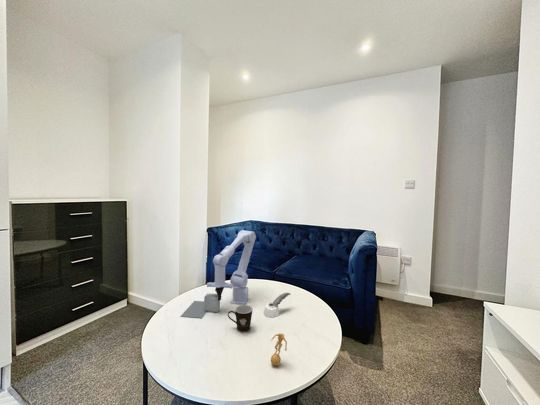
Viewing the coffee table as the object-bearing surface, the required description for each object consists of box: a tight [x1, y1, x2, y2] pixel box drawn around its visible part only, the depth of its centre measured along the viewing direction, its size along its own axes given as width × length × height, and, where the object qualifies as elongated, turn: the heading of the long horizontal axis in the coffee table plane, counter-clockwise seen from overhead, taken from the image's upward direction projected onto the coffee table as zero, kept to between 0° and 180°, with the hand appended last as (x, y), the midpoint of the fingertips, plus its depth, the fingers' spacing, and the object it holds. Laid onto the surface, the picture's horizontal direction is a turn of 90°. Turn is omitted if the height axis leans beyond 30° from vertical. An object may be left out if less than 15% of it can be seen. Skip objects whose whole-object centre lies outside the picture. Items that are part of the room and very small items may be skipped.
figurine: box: [270, 332, 288, 367], centre depth 95 cm, size 8×6×12 cm
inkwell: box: [263, 292, 291, 318], centre depth 136 cm, size 9×18×10 cm, turn 124°
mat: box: [180, 300, 208, 319], centre depth 136 cm, size 12×18×1 cm, turn 174°
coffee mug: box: [227, 304, 253, 333], centre depth 119 cm, size 12×9×10 cm
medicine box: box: [203, 292, 221, 313], centre depth 135 cm, size 8×4×9 cm, turn 84°
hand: (219, 299), depth 134 cm, fingers closed, pressing on medicine box
